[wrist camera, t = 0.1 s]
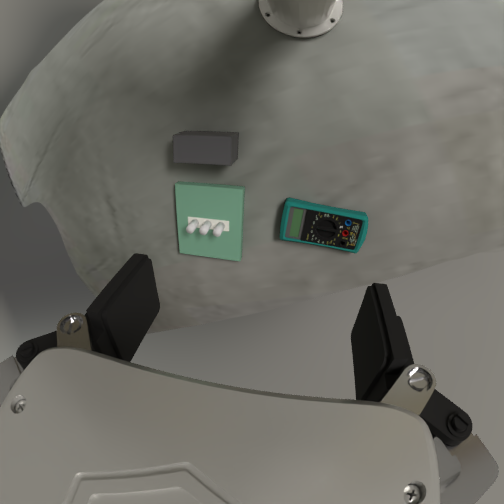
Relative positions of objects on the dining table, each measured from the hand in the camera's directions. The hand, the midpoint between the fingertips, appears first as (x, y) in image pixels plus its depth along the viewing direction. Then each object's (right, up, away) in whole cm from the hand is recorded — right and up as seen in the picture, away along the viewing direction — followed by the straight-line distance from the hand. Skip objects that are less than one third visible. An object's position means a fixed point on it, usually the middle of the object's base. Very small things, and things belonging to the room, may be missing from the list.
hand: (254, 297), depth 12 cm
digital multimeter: (+12, +7, +38) cm, 40 cm away
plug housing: (-7, +20, +33) cm, 39 cm away
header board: (-8, +8, +40) cm, 42 cm away
